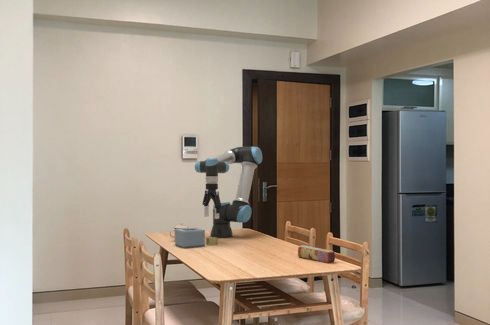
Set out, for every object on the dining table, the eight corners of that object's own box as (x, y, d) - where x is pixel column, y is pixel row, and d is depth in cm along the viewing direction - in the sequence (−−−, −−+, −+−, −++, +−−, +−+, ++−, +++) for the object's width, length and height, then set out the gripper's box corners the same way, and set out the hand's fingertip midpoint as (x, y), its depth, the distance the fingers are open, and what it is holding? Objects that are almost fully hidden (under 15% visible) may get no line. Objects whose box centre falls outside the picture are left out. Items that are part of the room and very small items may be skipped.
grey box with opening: (195, 243, 319) (195, 227, 319) (204, 246, 309) (204, 229, 309) (175, 245, 312) (175, 229, 312) (183, 248, 302) (183, 231, 301)
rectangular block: (214, 244, 319) (214, 236, 319) (217, 244, 316) (217, 237, 316) (206, 244, 316) (206, 237, 316) (208, 245, 313) (208, 238, 313)
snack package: (336, 262, 264) (336, 249, 264) (327, 264, 260) (328, 250, 260) (304, 256, 280) (305, 244, 280) (296, 258, 276) (296, 245, 276)
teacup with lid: (187, 239, 334) (187, 222, 334) (189, 242, 325) (189, 223, 325) (168, 240, 331) (169, 222, 331) (170, 242, 322) (170, 224, 322)
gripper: (197, 182, 325) (197, 215, 325) (216, 184, 303) (215, 219, 303) (207, 182, 328) (207, 215, 329) (227, 183, 307) (226, 219, 307)
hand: (211, 217), depth 316 cm, fingers open, 13 cm apart
